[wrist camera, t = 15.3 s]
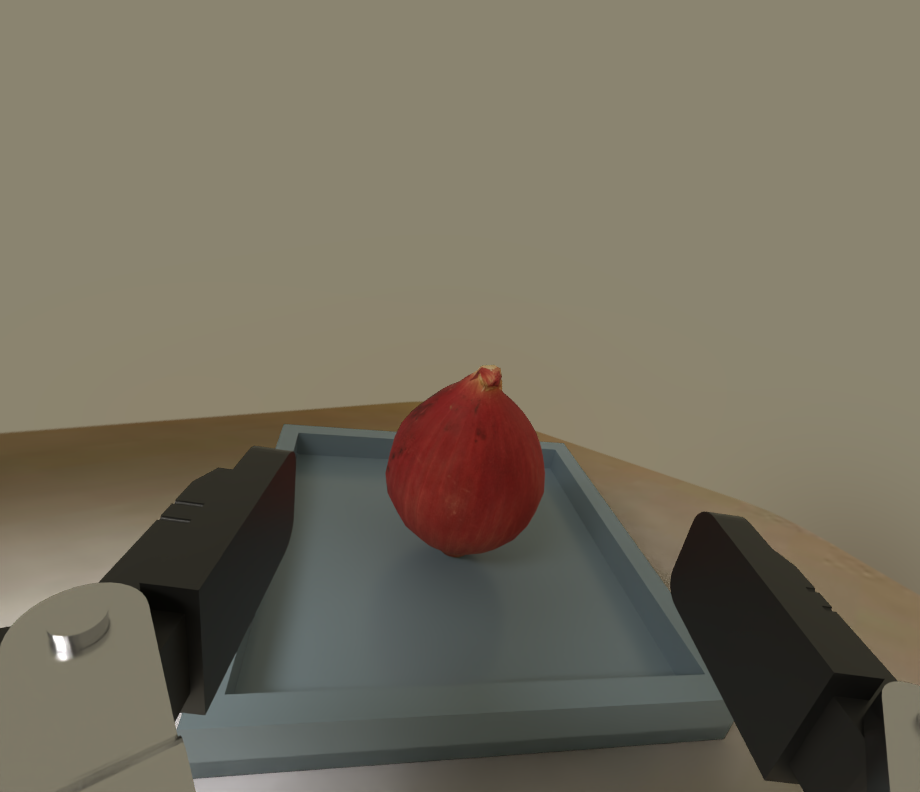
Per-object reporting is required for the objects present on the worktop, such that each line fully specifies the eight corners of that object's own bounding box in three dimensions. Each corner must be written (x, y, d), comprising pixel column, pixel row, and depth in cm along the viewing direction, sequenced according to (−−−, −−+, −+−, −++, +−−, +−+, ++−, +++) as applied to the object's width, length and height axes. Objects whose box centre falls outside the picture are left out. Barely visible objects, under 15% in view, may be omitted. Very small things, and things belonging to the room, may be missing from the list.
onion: (347, 562, 18) (365, 358, 15) (422, 491, 23) (447, 328, 20) (490, 634, 16) (544, 416, 13) (539, 540, 21) (587, 366, 18)
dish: (180, 779, 12) (176, 730, 11) (283, 455, 25) (283, 424, 24) (723, 738, 15) (746, 698, 14) (556, 470, 28) (563, 443, 28)
